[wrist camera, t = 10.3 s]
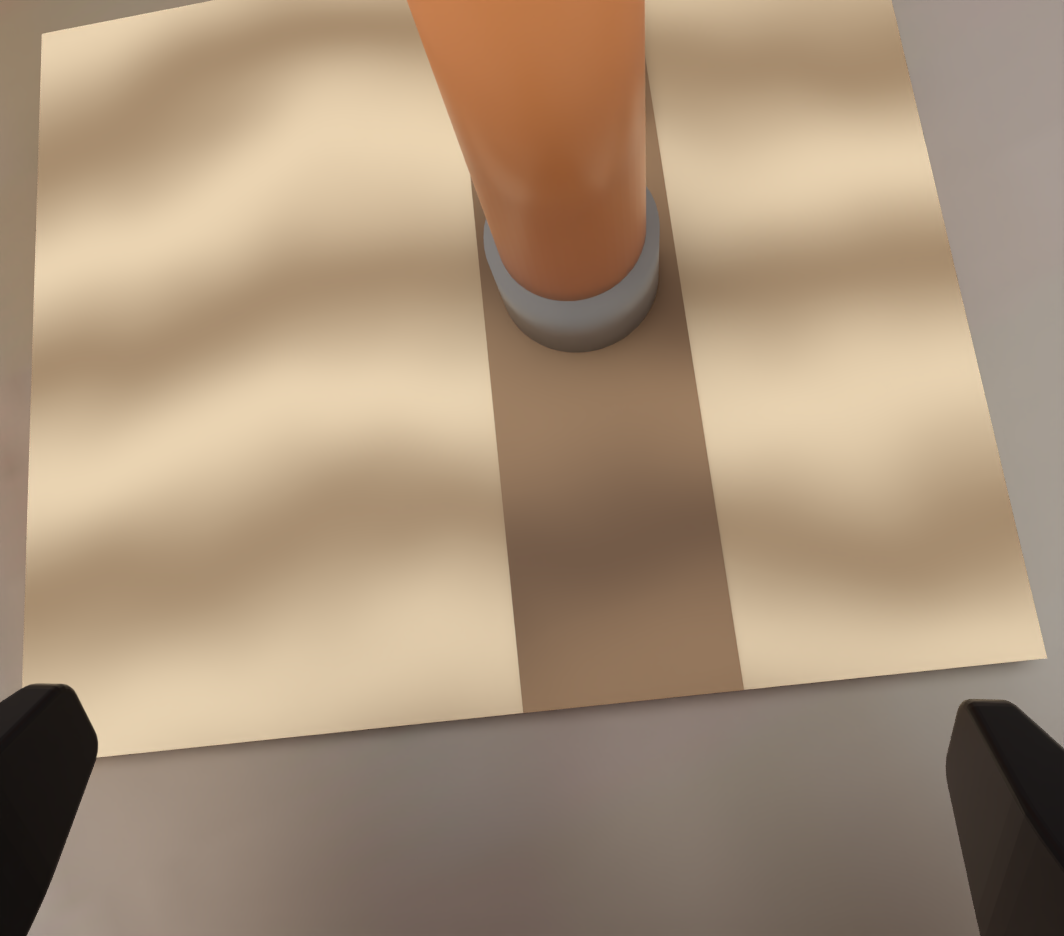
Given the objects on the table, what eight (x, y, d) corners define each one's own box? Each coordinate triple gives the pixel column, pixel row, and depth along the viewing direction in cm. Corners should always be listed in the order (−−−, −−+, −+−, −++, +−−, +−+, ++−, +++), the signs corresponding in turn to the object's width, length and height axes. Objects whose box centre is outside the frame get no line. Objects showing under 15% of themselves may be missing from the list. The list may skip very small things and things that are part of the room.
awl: (639, 366, 22) (626, -42, 9) (484, 336, 23) (275, -81, 10) (673, 219, 23) (704, -345, 10) (522, 194, 23) (373, -361, 11)
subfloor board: (1019, 659, 21) (1049, 658, 19) (59, 759, 23) (17, 766, 22) (849, -81, 26) (862, -130, 24) (73, 67, 28) (39, 31, 27)
